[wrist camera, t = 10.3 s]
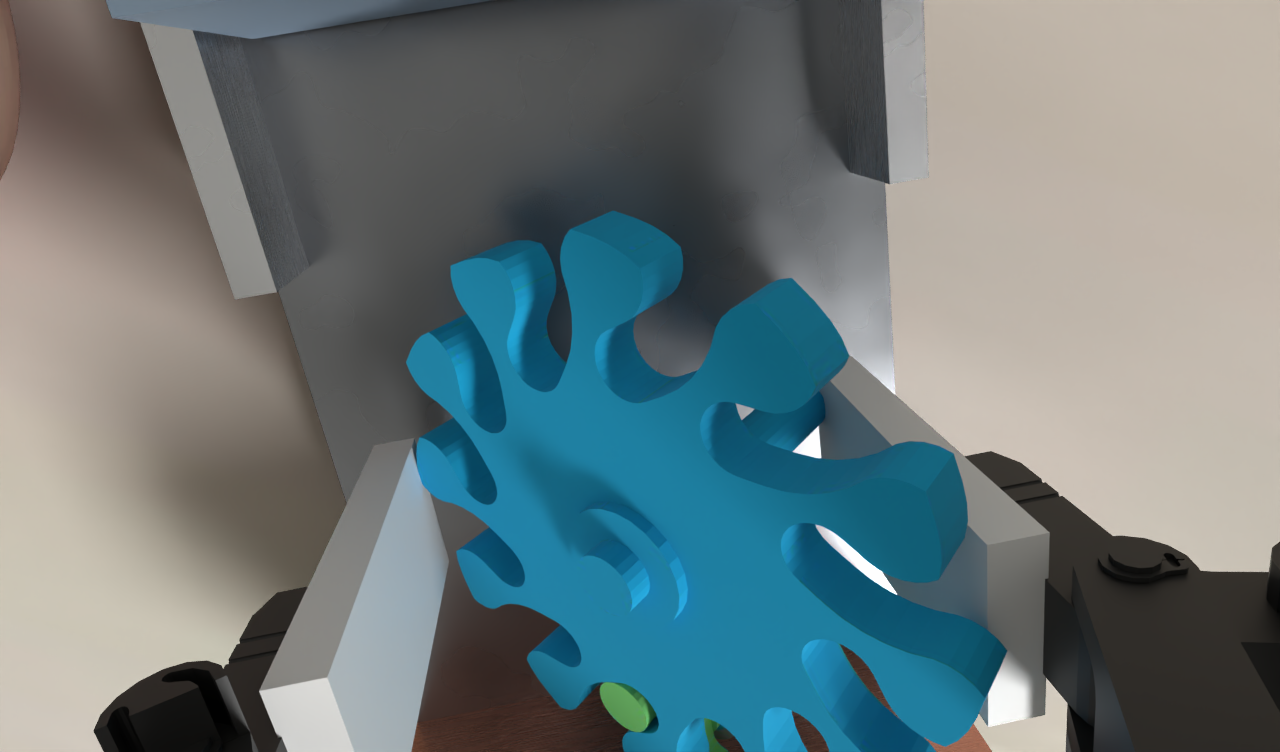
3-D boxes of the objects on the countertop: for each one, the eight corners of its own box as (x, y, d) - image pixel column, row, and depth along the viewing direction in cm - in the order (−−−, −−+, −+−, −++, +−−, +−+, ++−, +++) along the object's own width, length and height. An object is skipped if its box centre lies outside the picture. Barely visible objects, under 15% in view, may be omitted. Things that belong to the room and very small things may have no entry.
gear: (313, 199, 12) (1031, 346, 6) (578, 119, 16) (1166, 165, 10) (450, 712, 17) (912, 1047, 12) (626, 555, 21) (1033, 746, 16)
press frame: (817, -348, 15) (1284, -1093, 5) (883, 694, 23) (1111, 1109, 14) (147, -252, 14) (-621, -897, 5) (463, 782, 23) (406, 1275, 13)
